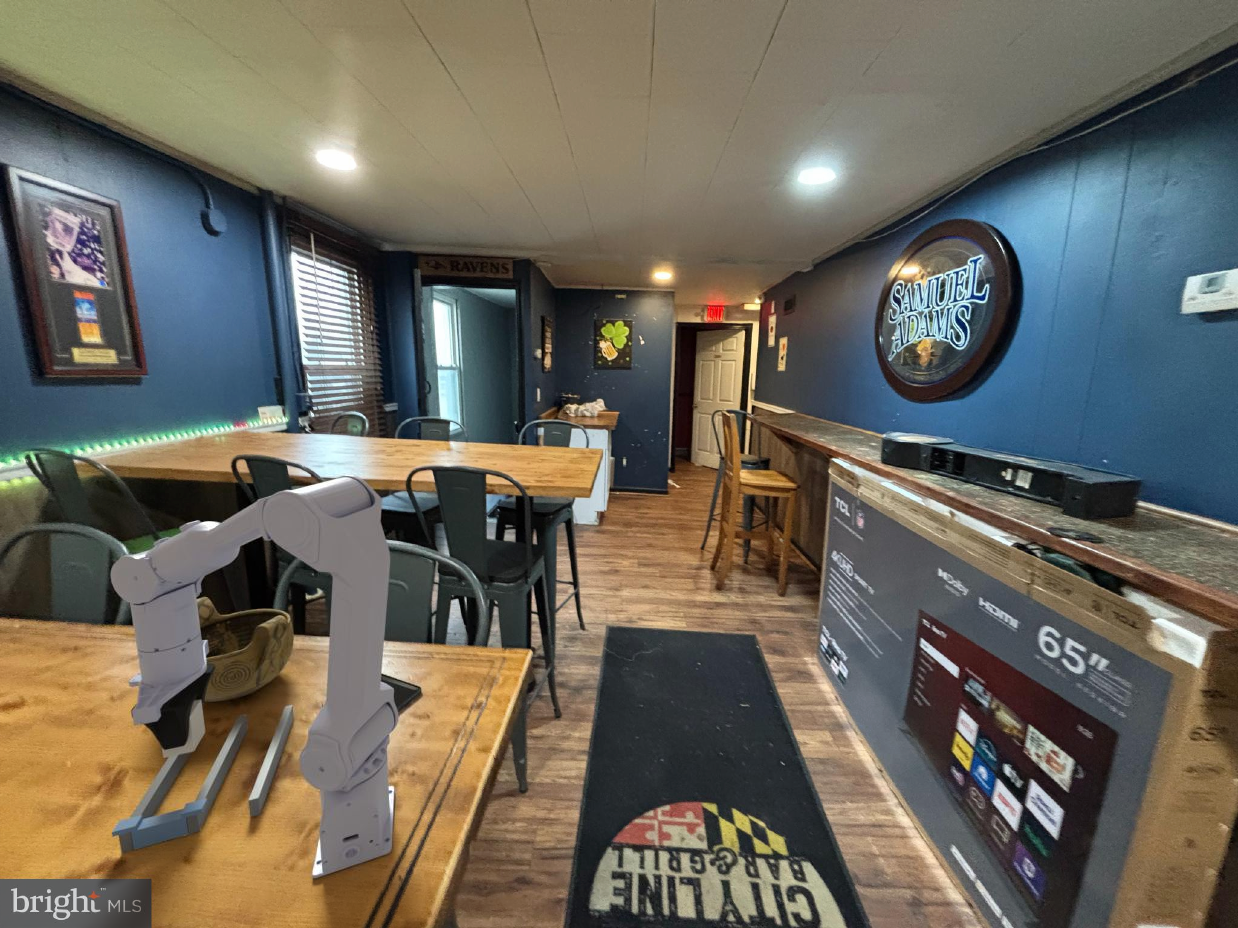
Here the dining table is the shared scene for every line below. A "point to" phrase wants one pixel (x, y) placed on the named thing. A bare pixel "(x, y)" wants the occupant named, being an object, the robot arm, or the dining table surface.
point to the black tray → (402, 691)
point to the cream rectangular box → (191, 732)
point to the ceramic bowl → (244, 648)
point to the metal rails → (190, 819)
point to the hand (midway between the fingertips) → (182, 734)
